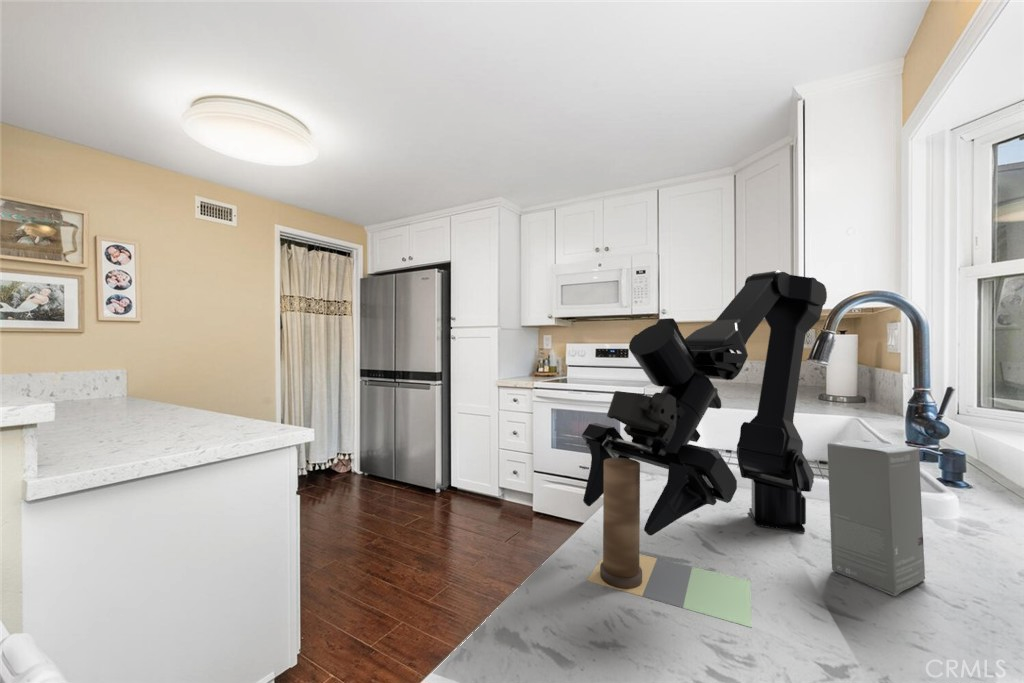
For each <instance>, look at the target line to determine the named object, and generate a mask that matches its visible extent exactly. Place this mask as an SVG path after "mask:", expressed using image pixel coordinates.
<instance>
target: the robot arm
mask: <svg viewBox="0 0 1024 683" xmlns="http://www.w3.org/2000/svg"><path fill="white" fill-rule="evenodd" d="M827 299H828V292H827V288H826V286H825V284H824V283H823V282H821V281H818V280H817V278H815V277H808V276H807V277H806V276H800V275H794V274H789V273H787V272H785V271H780V270H774V271H766V272H758V273H753V274H751V275H749V276H747V277H746V278H745V281H744V286H742V288H741V289H740V290H739V291H738V292H737V294H736V295H735V296H734V298H733V299H732V300H731V301H730V302H729V304H728V305H727V306H726V307H725V308H724V309H723V311H722V312H721V313H720V315H718V316H717V318H716V319H715V320H714V321H713V322H712V323H710V324H707V325H705V326H704V327H700V328H698V329H696V330H694V331H693V332H692V333H691V334H689V335H688V336H687V337H686V338H684V336H683V334H682V332H681V331H680V329H679V325H678V324H677V321H676V320H675V318H674V317H671V318H659V319H658V321H657V322H656V323H655V324H653V325H650V326H648V327H647V328H644V329H642V331H640V332H638V333H637V334H635V335H633V337H632V338H631V340H630V341H629V344H628V349H629V350H628V351H630V353H631V354H632V356H633V357H634V359H635V361H636V362H637V363H638V365H639V366H640V367H641V369H642V370H643V372H644V373H645V375H646V377H647V378H648V379H649V381H650V382H651V383H652V384H653V385H655V386H656V387H660V388H661V387H662V388H663V389H662V390H661V391H660V392H655V393H654V394H653V395H652V396H649V395H643V394H640V393H638V392H636V393H635V392H628V391H620V390H615V391H613V392H614V393H613V396H612V399H611V402H610V405H609V408H608V411H607V414H606V416H607V418H609V419H612V420H613V419H614V420H616V421H618V422H620V423H622V424H623V425H625V426H624V428H623V431H624V432H625V433H626V435H627V436H630V437H631V438H632V439H631V441H629V440H626V439H624V438H623V436H622V435H621V434H620V433H619V431H618V430H617V429H616V427H614V426H611V425H607V424H601V423H597V422H596V423H589V424H588V426H587V427H586V428H585V430H584V431H583V433H582V434H581V438H582V439H583V441H585V445H586V447H587V449H588V450H589V451H590V456H591V461H590V469H589V472H588V478H587V481H586V486H585V491H584V495H583V499H582V500H583V503H584V505H585V506H586V507H591V506H592V505H593V504H594V503H595V502H596V501H598V500H599V499H600V498H601V497H602V495H603V492H604V460H605V459H608V458H627V459H632V460H635V461H638V462H643V463H646V464H649V465H653V466H655V467H659V468H663V469H665V470H668V471H667V472H668V473H667V474H668V475H667V481H666V482H667V483H666V485H665V487H664V488H663V490H662V492H661V493H660V495H659V497H658V499H657V501H656V502H655V504H654V507H653V508H652V509H651V512H650V513H649V516H648V518H647V520H646V522H645V525H644V527H643V530H644V532H645V533H646V534H647V536H650V537H652V536H654V535H656V534H657V533H658V532H660V531H661V530H663V529H665V528H666V527H668V526H669V525H671V524H672V523H675V522H676V521H677V520H679V519H680V518H682V517H684V516H686V515H687V514H689V513H692V512H693V511H696V510H697V509H700V508H702V507H704V506H706V505H710V506H715V505H716V504H717V500H718V501H720V502H723V503H726V504H728V503H731V501H732V499H733V498H734V495H735V493H736V491H737V488H738V485H737V484H738V481H737V479H736V476H735V474H734V472H732V470H731V468H730V467H729V466H728V464H727V463H726V461H725V459H724V458H723V456H722V455H721V453H720V452H719V450H717V449H712V448H709V447H708V448H707V447H704V446H700V445H695V444H691V443H689V442H695V443H698V441H699V439H700V437H701V434H700V433H699V431H698V430H697V428H698V426H699V424H700V423H701V421H702V419H703V418H704V416H705V414H706V413H707V410H708V409H717V410H720V409H721V408H722V400H721V398H720V396H719V394H718V393H719V392H718V391H719V390H718V388H717V387H715V386H714V384H713V383H712V381H711V380H722V381H731V380H735V378H736V377H737V376H739V374H740V372H741V371H742V369H743V368H744V364H745V363H746V361H747V359H748V357H749V355H748V351H747V346H746V344H747V342H748V340H749V339H750V337H751V336H752V335H753V334H754V333H755V331H756V329H757V328H758V327H759V326H760V324H761V323H762V321H763V320H764V319H765V321H766V323H767V325H768V327H769V328H770V330H769V337H768V343H767V350H766V356H765V362H764V370H763V376H762V381H761V382H762V383H761V388H760V394H759V395H760V396H759V400H758V407H757V413H756V415H755V416H754V417H753V418H752V419H751V420H750V421H748V422H747V421H744V422H742V424H741V425H740V433H739V439H738V442H737V444H736V458H737V463H738V467H739V472H740V477H741V478H743V479H749V480H751V507H750V508H749V510H748V512H749V514H750V516H751V519H752V521H753V523H754V525H755V526H757V527H764V528H770V529H778V530H785V531H792V532H796V533H797V532H798V533H805V532H806V528H805V527H804V526H803V525H806V523H807V516H806V514H807V512H806V511H807V504H806V503H807V502H806V501H807V499H806V497H805V496H804V495H803V493H802V492H807V493H809V492H812V488H813V485H814V483H815V482H814V480H815V479H814V476H815V473H814V471H813V469H812V467H811V465H810V463H809V462H808V459H806V456H805V455H804V453H803V450H804V448H803V447H804V442H803V440H802V439H803V438H802V437H801V435H800V433H799V432H798V430H797V428H796V426H795V423H794V417H795V412H796V411H795V410H796V404H797V403H796V402H797V395H798V389H799V382H800V377H801V376H800V375H801V368H802V362H803V354H804V345H805V342H806V341H805V340H806V334H807V333H808V332H809V331H810V330H811V329H812V328H813V327H814V326H815V325H816V324H817V323H818V322H819V321H820V318H821V316H822V311H823V306H824V305H825V304H826V302H827Z"/></svg>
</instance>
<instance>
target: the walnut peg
mask: <svg viewBox="0 0 1024 683" xmlns="http://www.w3.org/2000/svg"><path fill="white" fill-rule="evenodd" d="M602 495H603V498H602V499H603V500H602V501H603V504H602V505H603V506H602V507H603V514H602V515H603V521H602V523H603V524H602V525H603V527H602V528H603V529H602V530H603V532H602V533H603V534H602V536H603V537H602V542H603V543H602V557H603V562H602V563H601V565H600V576H601V579H602V580H603V581H604V582H605V583H607V584H608V585H610V586H613V587H616V588H621V589H633V588H636V587H638V586H640V585H641V583H642V569H641V567H640V566H639V560H640V554H641V552H640V547H641V546H640V541H641V539H640V535H641V534H640V529H641V528H640V526H641V523H640V522H641V521H640V520H641V519H640V518H641V514H640V512H641V511H640V510H641V501H640V500H641V463H640V461H638V460H635V459H632V458H630V459H627V458H608V459H605V460H604V492H603V494H602Z"/></svg>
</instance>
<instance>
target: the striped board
mask: <svg viewBox="0 0 1024 683" xmlns="http://www.w3.org/2000/svg"><path fill="white" fill-rule="evenodd" d="M602 562H603V556H602V557H601V559H600V560H599V561H598V563H597V565H596V566H595V568H594V569H593V571H592V572H591V573H590V575H589V577H588V578H587V579H586V580H587V582H590V583H592V584H593V583H594V584H597V585H600V586H604V587H608V588H611V589H615V590H618V591H621V592H625V593H629V594H632V595H636V596H639V597H642V598H647V599H650V600H653V601H657V602H660V603H664V604H666V605H670V606H674V607H678V608H681V609H685V610H688V611H691V612H696V613H697V614H702V615H706V616H709V617H712V618H715V619H719V620H722V621H726V622H730V623H734V624H737V625H740V626H744V627H747V628H750V629H751V628H752V625H753V624H752V597H751V596H752V595H751V580H749V579H745V578H740V577H736V576H732V575H727V574H725V573H720V572H717V571H712V570H707V569H702V568H699V567H694V566H692V565H691V566H690V565H686V564H682V563H679V562H674V561H670V560H665V559H661V558H657V557H653V556H649V555H645V554H641V553H640V560H639V566H640V567H641V569H642V583H641V585H640V586H638V587H636V588H633V589H621V588H616V587H613V586H610V585H608V584H607V583H605V582H604V581H603V580H602V579H601V576H600V565H601V563H602Z"/></svg>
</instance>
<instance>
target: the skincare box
mask: <svg viewBox="0 0 1024 683" xmlns="http://www.w3.org/2000/svg"><path fill="white" fill-rule="evenodd" d="M826 445H827V467H828V468H827V469H828V474H827V475H828V495H829V496H828V497H829V520H830V521H829V522H830V526H829V527H830V545H831V546H830V550H831V551H830V553H831V569H832V571H834V572H836V573H838V574H840V575H842V576H846V577H848V578H851V579H853V580H856V581H859V582H861V583H863V584H866V585H868V586H871V587H873V588H875V589H877V590H879V591H881V592H884V593H885V594H888V595H890V596H892V597H896V596H898V595H899V594H900V593H902V592H904V591H906V590H908V589H911V588H912V587H914V586H916V585H918V584H920V583H922V581H924V580H925V579H926V572H925V571H926V570H925V569H926V568H925V566H926V565H925V553H924V552H925V550H924V549H925V548H924V547H925V546H924V531H923V530H924V528H923V508H922V507H923V506H922V490H921V489H922V486H921V465H920V461H921V460H920V447H915V446H908V445H901V444H892V443H886V442H877V441H871V440H863V439H859V440H858V439H857V440H841V441H838V442H837V441H836V442H828V443H827V444H826Z"/></svg>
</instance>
